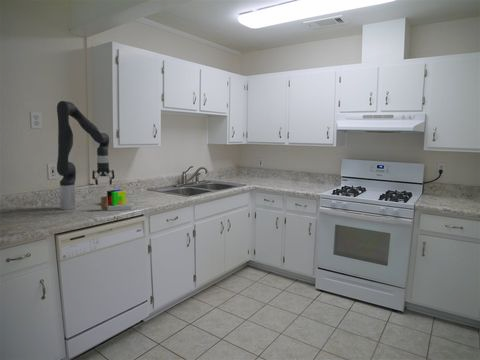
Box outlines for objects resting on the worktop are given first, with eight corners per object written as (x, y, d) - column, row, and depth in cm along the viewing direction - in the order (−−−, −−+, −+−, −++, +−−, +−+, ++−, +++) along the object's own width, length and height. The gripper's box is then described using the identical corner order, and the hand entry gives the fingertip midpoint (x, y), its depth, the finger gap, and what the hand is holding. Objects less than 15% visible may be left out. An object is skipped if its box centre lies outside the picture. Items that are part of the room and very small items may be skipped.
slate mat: (107, 210, 230) (107, 210, 230) (108, 207, 242) (108, 206, 242) (131, 209, 235) (131, 209, 235) (131, 206, 246) (131, 205, 246)
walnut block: (101, 210, 230) (100, 196, 229) (101, 209, 234) (101, 195, 232) (107, 210, 231) (106, 196, 230) (107, 209, 235) (107, 195, 234)
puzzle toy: (119, 201, 261) (118, 189, 260) (126, 203, 255) (125, 191, 254) (107, 203, 254) (107, 191, 252) (114, 205, 248) (113, 192, 246)
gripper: (91, 162, 222) (92, 186, 224) (113, 162, 226) (114, 185, 229) (92, 161, 229) (93, 184, 231) (114, 161, 233) (114, 183, 236)
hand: (103, 184), depth 230 cm, fingers open, 8 cm apart
